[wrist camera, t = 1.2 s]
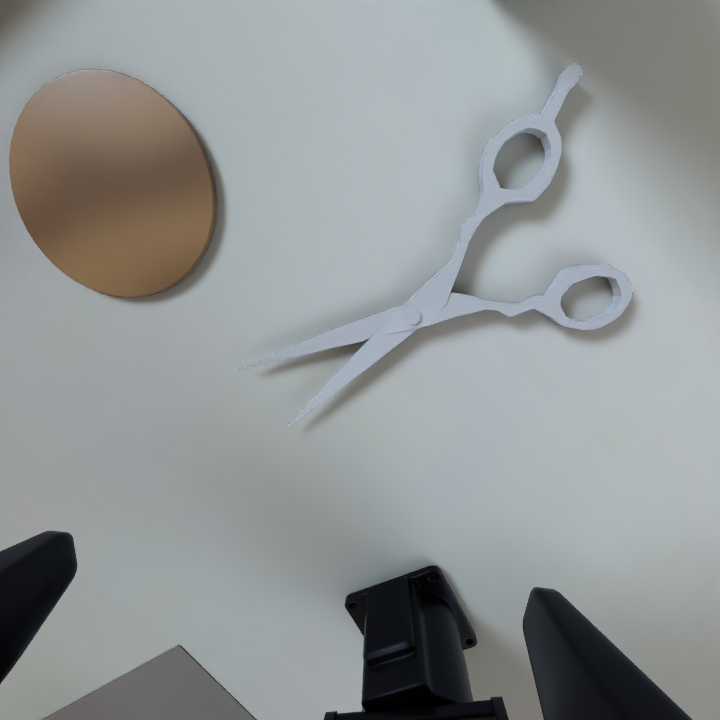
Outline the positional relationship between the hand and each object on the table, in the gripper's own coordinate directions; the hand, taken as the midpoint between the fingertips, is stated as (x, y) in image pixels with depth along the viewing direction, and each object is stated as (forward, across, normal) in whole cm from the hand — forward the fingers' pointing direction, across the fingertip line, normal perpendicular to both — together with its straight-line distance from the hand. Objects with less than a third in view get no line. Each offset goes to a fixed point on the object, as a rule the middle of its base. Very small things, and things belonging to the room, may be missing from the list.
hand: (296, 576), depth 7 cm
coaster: (+13, +12, -8) cm, 20 cm away
